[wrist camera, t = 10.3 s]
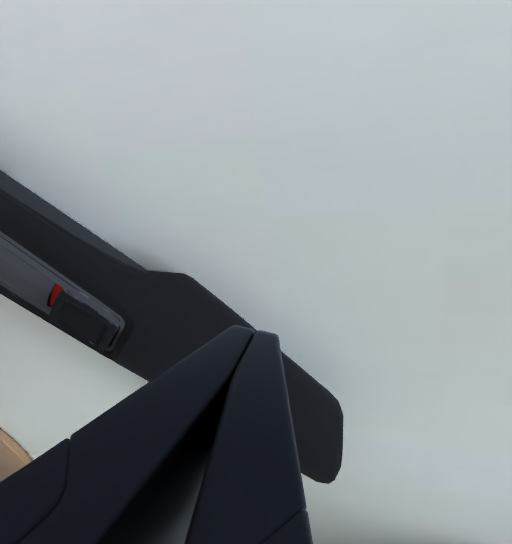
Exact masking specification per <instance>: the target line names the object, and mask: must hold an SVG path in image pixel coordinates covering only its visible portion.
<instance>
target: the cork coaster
mask: <svg viewBox="0 0 512 544" xmlns="http://www.w3.org/2000/svg"><path fill="white" fill-rule="evenodd" d="M31 461H32V460H31V458H30V457H29V456H28V455H27V453H26V452H25V451H24V450H23V449H22V448H21V447H20V446H19V445H18V444H17V443H16V442H15V441H14V440H13V439H12V438H11V437H9V436H8V435H7V434H6V433H5V432H3V431H2V430H1V429H0V481H2V480H4V479H5V478H7V477H8V476H10V475H11V474H13V473H14V472H16V471H18V470H19V469H21V468H22V467H24V466H25V465H27V464H28V463H30V462H31Z"/></svg>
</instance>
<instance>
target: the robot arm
mask: <svg viewBox="0 0 512 544" xmlns="http://www.w3.org/2000/svg"><path fill="white" fill-rule="evenodd" d="M0 544H313V542H312V536H311V530H310V524H309V518H308V513H307V511H306V501H305V495H304V489H303V483H302V477H301V471H300V465H299V459H298V453H297V447H296V441H295V435H294V429H293V422H292V416H291V410H290V404H289V398H288V392H287V386H286V380H285V374H284V368H283V362H282V356H281V350H280V344H279V338H278V336H277V335H276V334H273V333H269V332H264V331H259V330H258V331H256V332H255V331H254V330H253V329H251V328H246V327H242V326H238V325H234V326H231V327H229V328H228V329H226V330H225V331H223V332H222V333H221V334H219V335H218V336H216V337H215V338H213V339H212V340H210V341H209V342H207V343H206V344H204V345H203V346H201V347H200V348H198V349H197V350H196V351H194V352H193V353H191V354H190V355H188V356H187V357H185V358H184V359H182V360H181V361H179V362H178V363H176V364H175V365H173V366H172V367H171V368H169V369H168V370H166V371H165V372H163V373H162V374H160V375H159V376H157V377H156V378H154V379H153V380H151V381H150V382H148V383H147V384H146V385H144V386H143V387H141V388H140V389H138V390H137V391H135V392H134V393H132V394H131V395H129V396H128V397H126V398H125V399H123V400H122V401H121V402H119V403H118V404H116V405H115V406H113V407H112V408H110V409H109V410H107V411H106V412H104V413H103V414H101V415H100V416H98V417H97V418H96V419H94V420H93V421H91V422H90V423H88V424H87V425H85V426H84V427H82V428H81V429H79V430H78V431H76V432H75V433H73V434H72V435H71V437H70V439H64V440H63V441H61V442H60V443H58V444H57V445H55V446H54V447H53V448H51V449H50V450H48V451H47V452H45V453H44V454H42V455H41V456H39V457H38V458H36V459H35V460H33V461H31V462H30V463H28V464H27V465H25V466H24V467H22V468H21V469H19V470H18V471H16V472H14V473H13V474H11V475H10V476H8V477H7V478H5V479H4V480H2V481H0Z"/></svg>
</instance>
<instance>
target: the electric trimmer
mask: <svg viewBox="0 0 512 544" xmlns="http://www.w3.org/2000/svg"><path fill="white" fill-rule="evenodd" d="M0 294H2V295H4V296H5V297H7V298H9V299H10V300H12V301H14V302H15V303H17V304H19V305H20V306H22V307H24V308H25V309H27V310H29V311H30V312H32V313H34V314H35V315H37V316H39V317H40V318H42V319H44V320H45V321H47V322H48V323H50V324H52V325H53V326H55V327H57V328H58V329H60V330H62V331H63V332H65V333H67V334H68V335H70V336H72V337H73V338H75V339H77V340H78V341H80V342H82V343H83V344H85V345H87V346H88V347H90V348H92V349H93V350H95V351H97V352H98V353H100V354H102V355H103V356H105V357H107V358H109V359H111V360H113V361H114V362H116V363H117V364H119V365H121V366H123V367H124V368H126V369H128V370H130V371H131V372H133V373H135V374H137V375H138V376H140V377H142V378H144V379H145V380H147V381H149V382H150V381H151V380H153V379H154V378H156V377H157V376H159V375H160V374H162V373H163V372H165V371H166V370H168V369H169V368H171V367H172V366H173V365H175V364H176V363H178V362H179V361H181V360H182V359H184V358H185V357H187V356H188V355H190V354H191V353H193V352H194V351H196V350H197V349H198V348H200V347H201V346H203V345H204V344H206V343H207V342H209V341H210V340H212V339H213V338H215V337H216V336H218V335H219V334H221V333H222V332H223V331H225V330H226V329H228V328H229V327H231V326H234V325H238V326H242V327H246V328H251V329H253V330H254V331H255V332H256V331H257V330H256V329H254V328H253V327H252V326H251V325H250V324H248V323H247V322H246V321H245V320H244V319H243V318H241V317H240V316H239V315H238V314H237V313H235V312H234V311H233V310H232V309H231V308H229V307H228V306H227V305H226V304H224V303H223V302H222V301H221V300H219V299H218V298H217V297H216V296H214V295H213V294H212V293H211V292H209V291H208V290H207V289H206V288H204V287H203V286H202V285H201V284H199V283H198V282H197V281H196V280H194V279H193V278H191V277H189V276H187V275H186V274H182V273H171V272H160V271H149V270H146V269H145V268H143V267H142V266H140V265H139V264H137V263H136V262H134V261H133V260H131V259H130V258H128V257H127V256H126V255H124V254H123V253H121V252H120V251H118V250H117V249H115V248H114V247H112V246H111V245H109V244H108V243H106V242H105V241H103V240H102V239H101V238H99V237H98V236H96V235H95V234H93V233H92V232H90V231H89V230H87V229H86V228H84V227H83V226H81V225H80V224H79V223H77V222H76V221H74V220H73V219H71V218H70V217H68V216H67V215H65V214H64V213H62V212H61V211H59V210H58V209H56V208H55V207H54V206H52V205H51V204H49V203H48V202H46V201H45V200H43V199H42V198H40V197H39V196H37V195H36V194H34V193H33V192H31V191H30V190H29V189H27V188H26V187H24V186H23V185H21V184H20V183H18V182H17V181H15V180H14V179H12V178H11V177H9V176H8V175H6V174H5V173H4V172H2V171H1V170H0ZM281 356H282V362H283V368H284V374H285V380H286V386H287V392H288V398H289V404H290V410H291V416H292V422H293V429H294V435H295V441H296V447H297V453H298V459H299V465H300V471H301V473H303V474H304V475H306V476H308V477H309V478H311V479H313V480H315V481H316V482H321V483H327V484H329V483H330V482H332V481H334V480H335V478H336V476H337V474H338V472H339V470H340V468H341V461H342V449H343V414H342V410H341V407H340V404H339V402H338V400H337V399H336V398H335V397H334V396H333V395H332V394H331V393H330V392H329V391H328V390H327V389H326V388H324V387H323V386H322V385H321V384H320V383H318V382H317V381H316V380H315V379H314V378H312V377H311V376H310V375H309V374H308V373H307V372H305V371H304V370H303V369H302V368H301V367H299V366H298V365H297V364H296V363H295V362H294V361H292V360H291V359H290V358H289V357H288V356H286V355H285V354H284V353H283V352H282V351H281Z"/></svg>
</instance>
